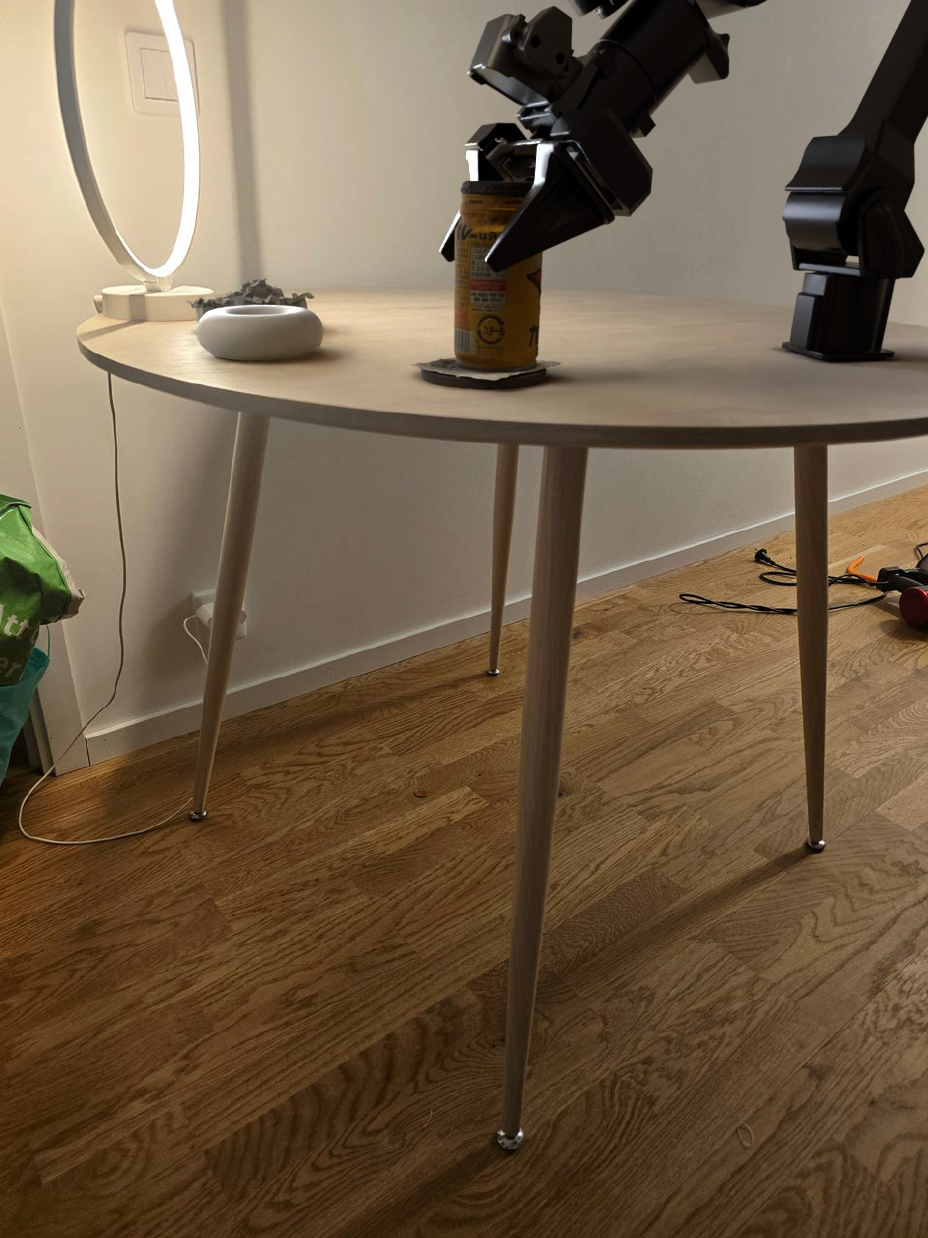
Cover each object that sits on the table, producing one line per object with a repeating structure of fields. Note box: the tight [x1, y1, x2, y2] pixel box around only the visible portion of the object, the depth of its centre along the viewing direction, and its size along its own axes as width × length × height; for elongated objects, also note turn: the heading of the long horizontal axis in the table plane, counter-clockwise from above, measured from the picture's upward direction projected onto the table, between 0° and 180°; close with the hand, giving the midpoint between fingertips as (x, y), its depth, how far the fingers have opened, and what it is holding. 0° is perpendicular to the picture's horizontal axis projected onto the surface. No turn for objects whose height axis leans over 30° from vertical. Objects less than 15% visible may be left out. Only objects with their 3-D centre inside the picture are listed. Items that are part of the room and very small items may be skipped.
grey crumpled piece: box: [185, 277, 315, 325], centre depth 83 cm, size 11×8×4 cm
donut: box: [195, 305, 324, 361], centre depth 71 cm, size 10×4×10 cm
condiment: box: [410, 180, 562, 380], centre depth 60 cm, size 7×8×12 cm
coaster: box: [420, 357, 547, 389], centre depth 63 cm, size 9×9×1 cm
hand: (465, 261), depth 60 cm, fingers open, 9 cm apart
